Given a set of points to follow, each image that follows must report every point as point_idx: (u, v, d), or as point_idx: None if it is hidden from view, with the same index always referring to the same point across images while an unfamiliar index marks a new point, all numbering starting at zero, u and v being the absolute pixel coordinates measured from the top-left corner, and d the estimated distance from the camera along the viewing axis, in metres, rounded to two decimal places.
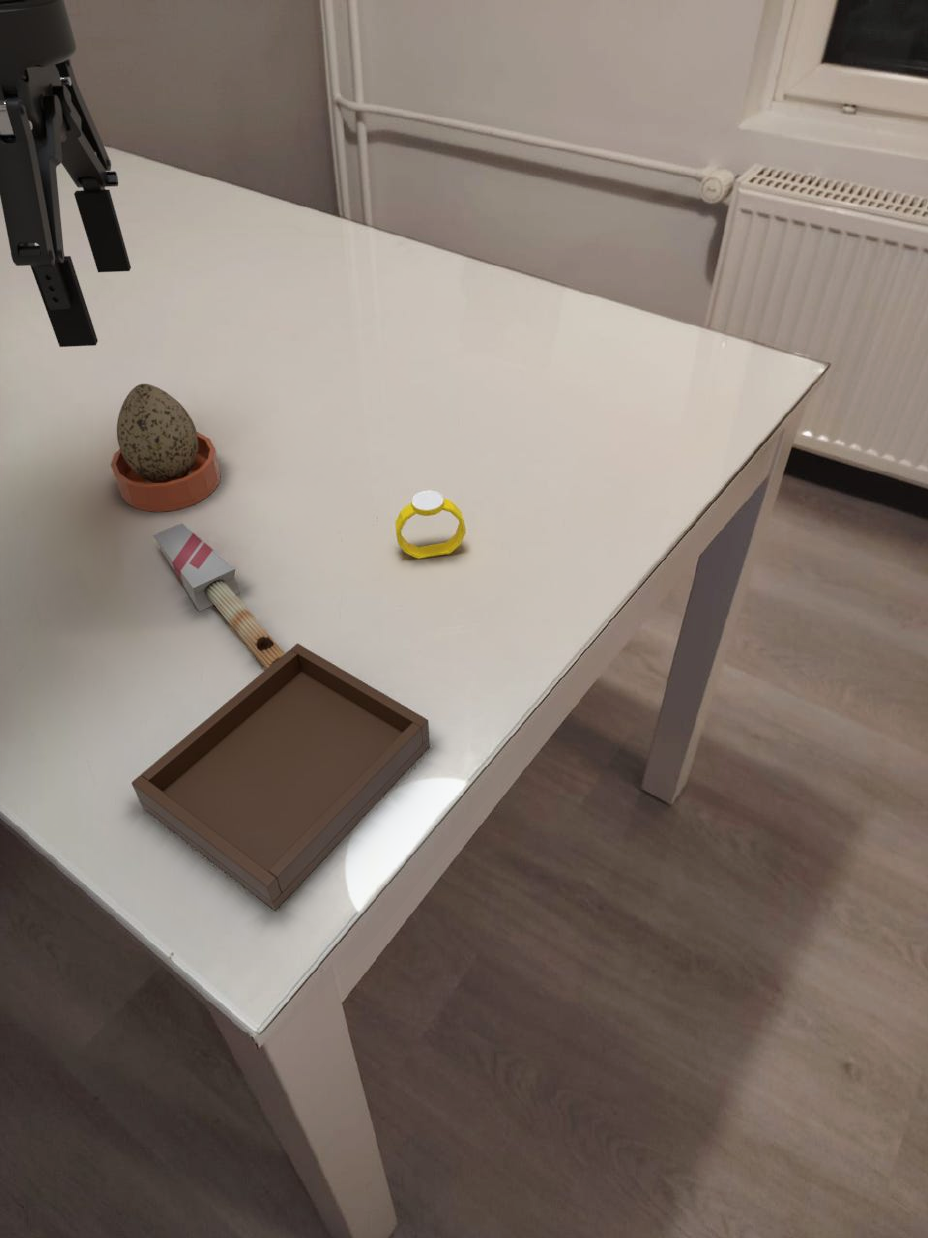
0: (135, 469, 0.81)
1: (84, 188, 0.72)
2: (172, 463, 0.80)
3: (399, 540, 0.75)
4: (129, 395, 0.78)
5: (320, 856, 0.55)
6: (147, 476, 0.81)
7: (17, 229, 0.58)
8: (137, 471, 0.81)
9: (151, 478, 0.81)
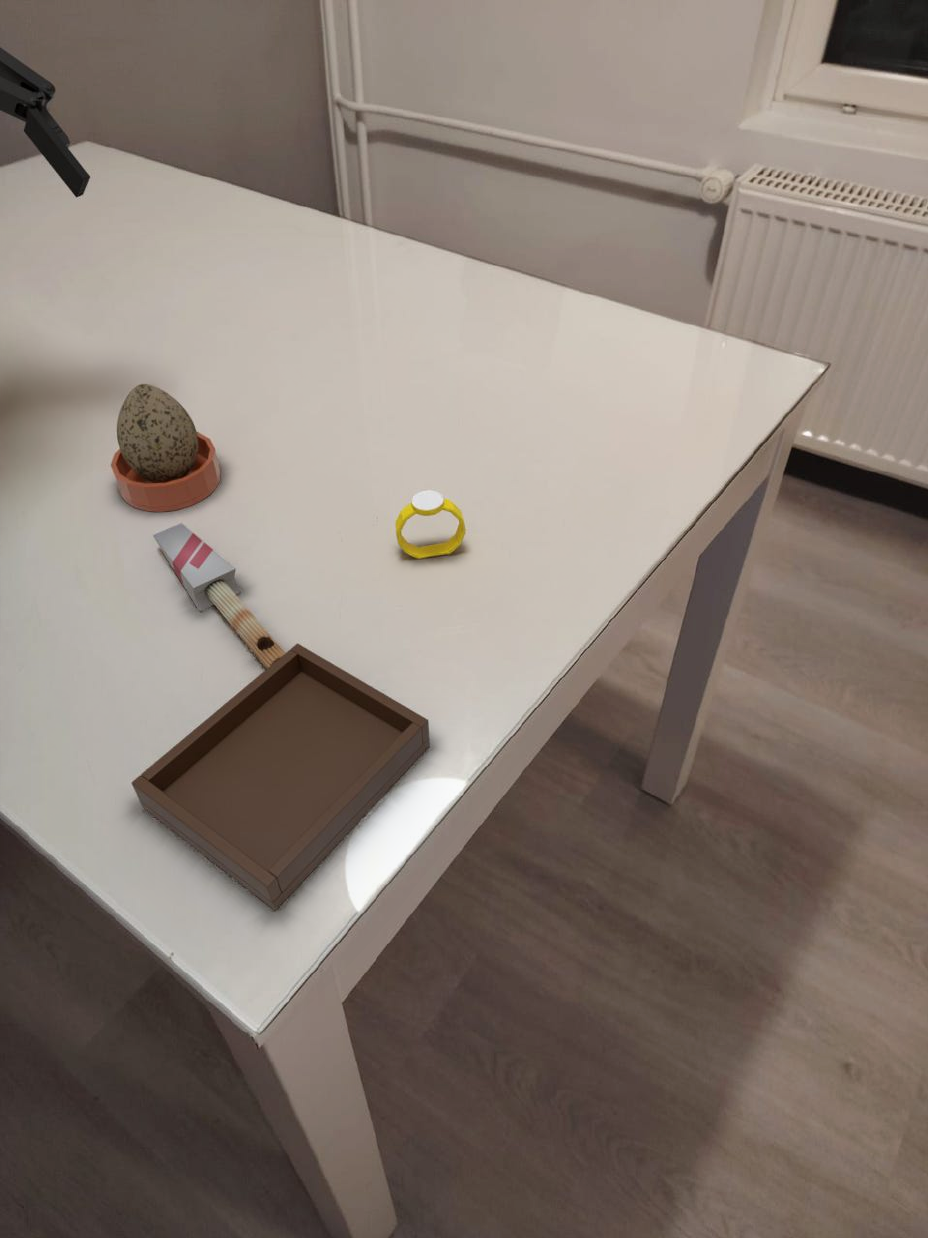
0: (135, 469, 0.81)
1: None
2: (172, 463, 0.80)
3: (399, 540, 0.75)
4: (129, 395, 0.78)
5: (320, 856, 0.55)
6: (147, 476, 0.81)
7: None
8: (137, 471, 0.81)
9: (151, 478, 0.81)
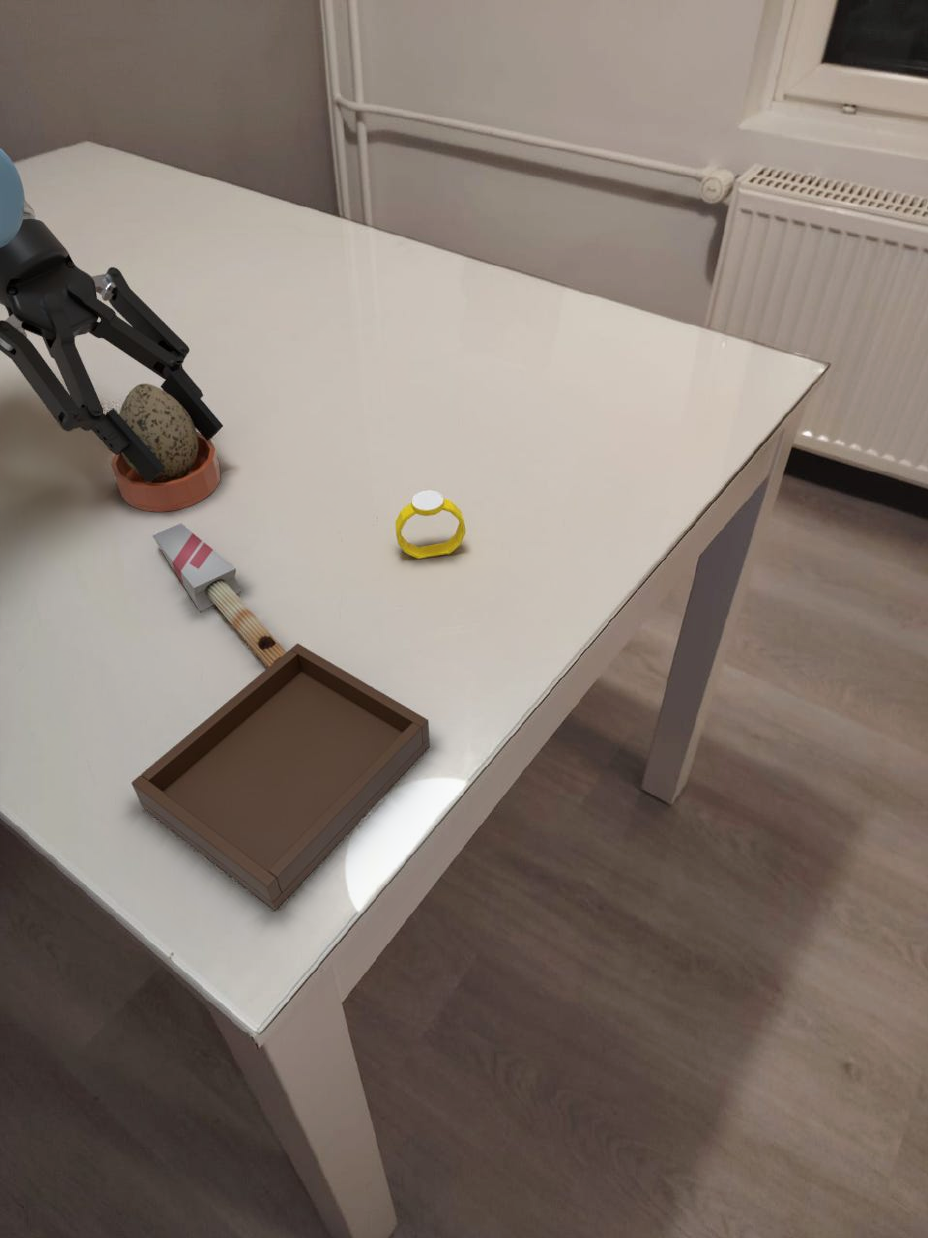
0: (135, 469, 0.81)
1: (103, 414, 0.76)
2: (172, 463, 0.80)
3: (399, 540, 0.75)
4: (129, 395, 0.78)
5: (320, 856, 0.55)
6: None
7: None
8: (137, 471, 0.81)
9: None
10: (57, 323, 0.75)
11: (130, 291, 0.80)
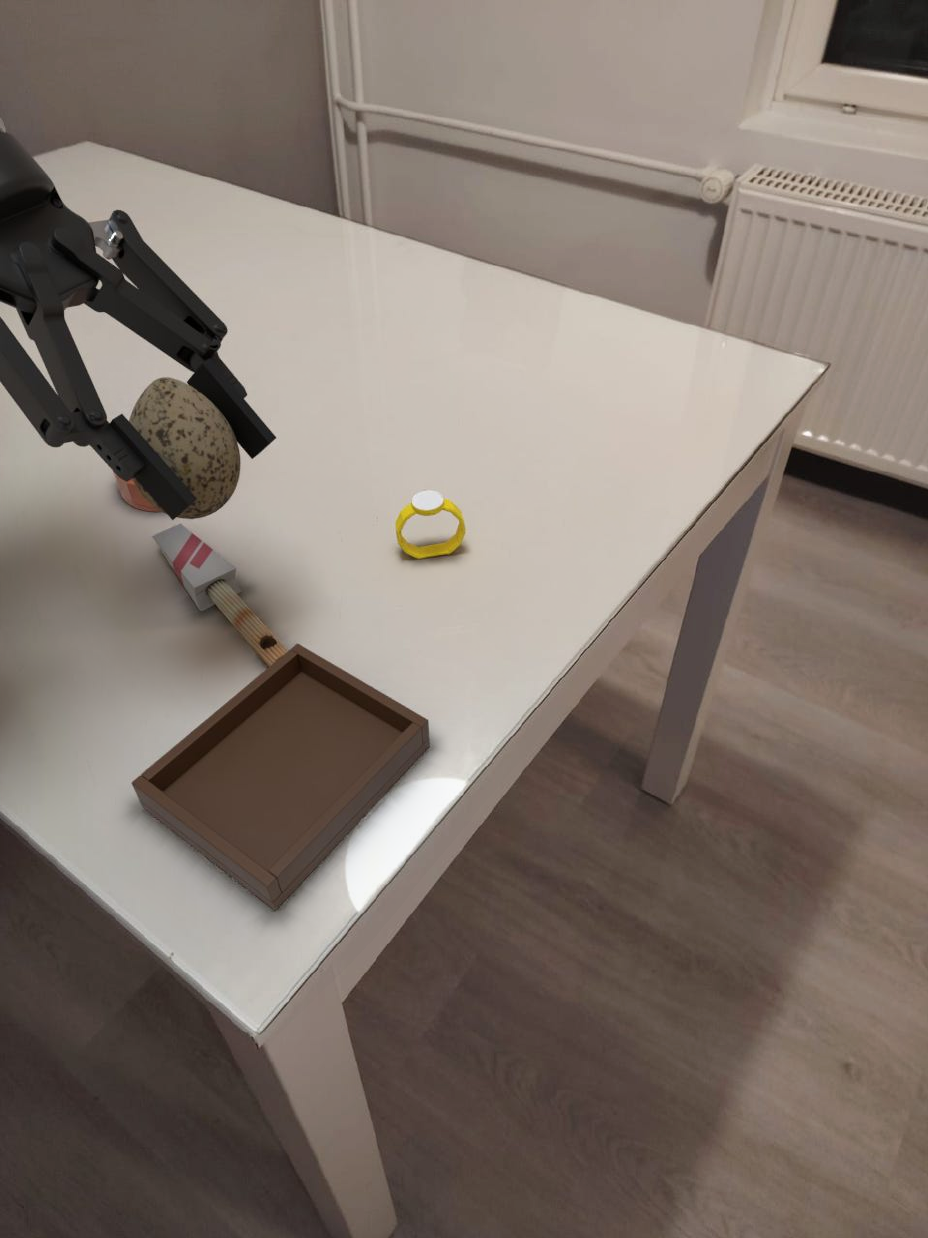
0: (152, 500, 0.56)
1: (107, 422, 0.52)
2: (205, 492, 0.56)
3: (399, 540, 0.75)
4: (144, 394, 0.54)
5: (320, 856, 0.55)
6: None
7: None
8: (154, 503, 0.57)
9: None
10: (38, 287, 0.50)
11: (144, 245, 0.56)
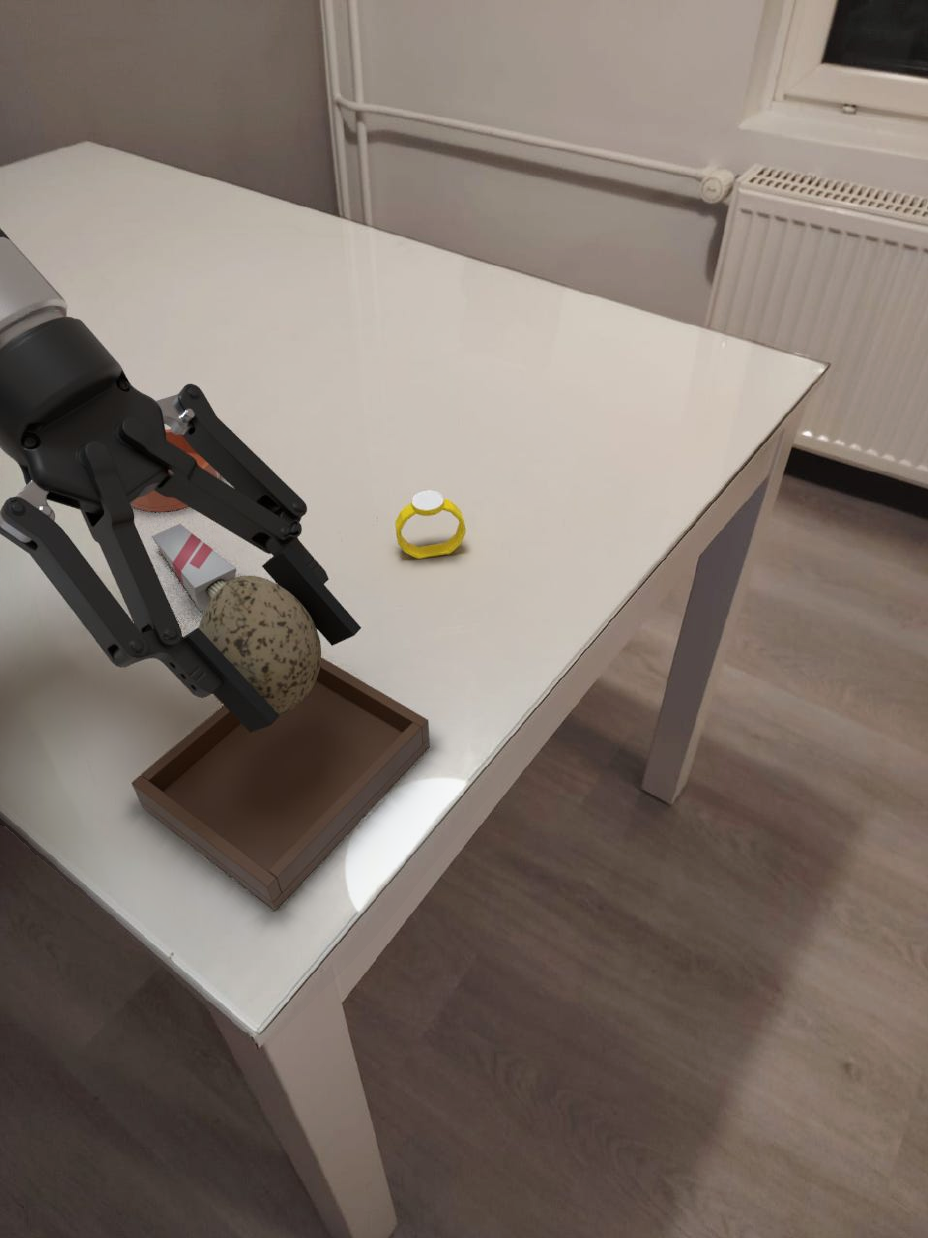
0: None
1: (181, 636, 0.46)
2: (286, 697, 0.50)
3: (399, 540, 0.75)
4: (220, 597, 0.48)
5: (320, 856, 0.55)
6: None
7: None
8: None
9: None
10: (106, 492, 0.44)
11: (217, 421, 0.50)
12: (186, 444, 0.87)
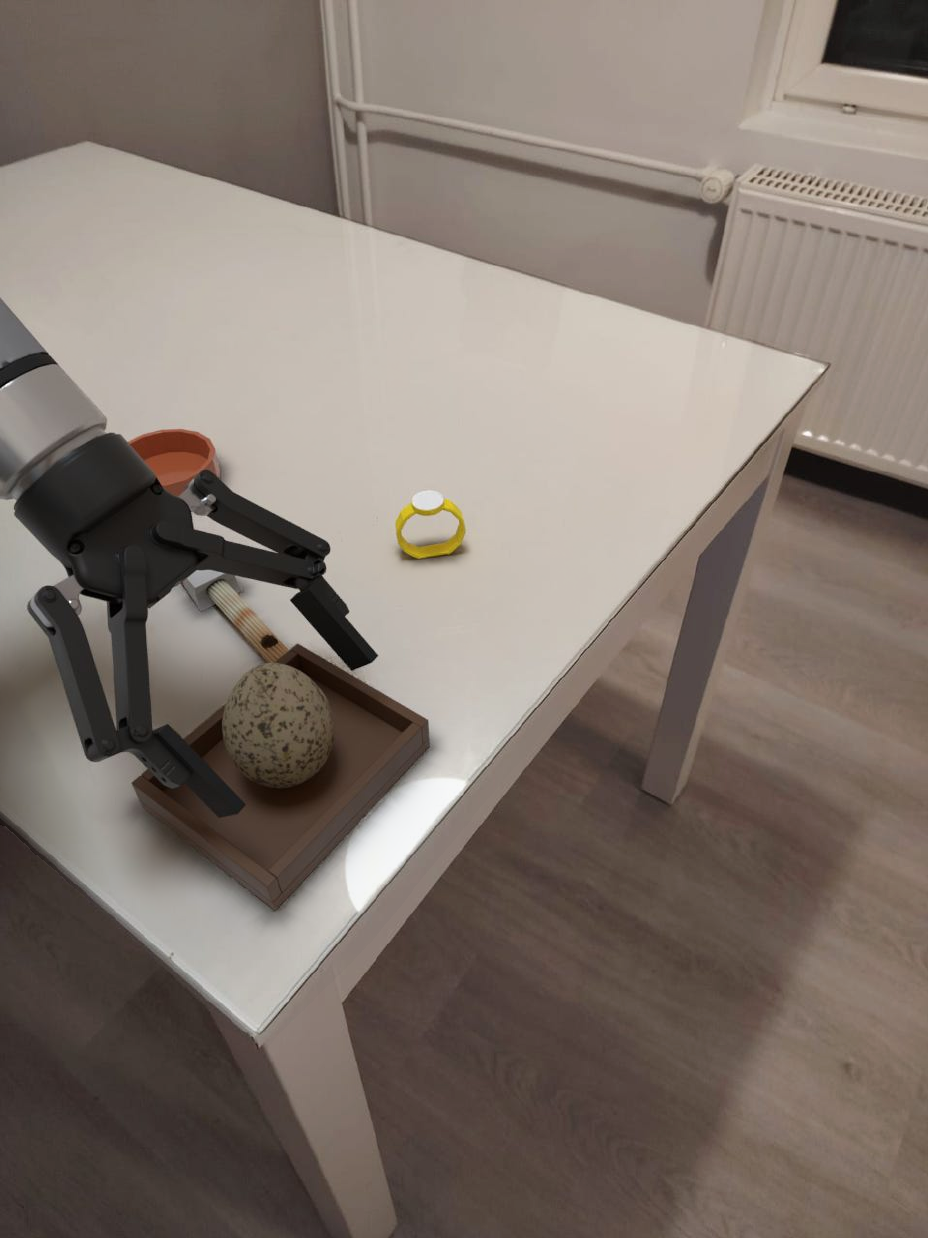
0: (248, 777, 0.56)
1: (152, 732, 0.49)
2: (303, 772, 0.55)
3: (399, 540, 0.75)
4: (245, 685, 0.53)
5: (320, 856, 0.55)
6: (265, 785, 0.56)
7: None
8: (251, 779, 0.56)
9: (270, 787, 0.56)
10: (129, 591, 0.49)
11: (235, 496, 0.55)
12: (186, 444, 0.87)
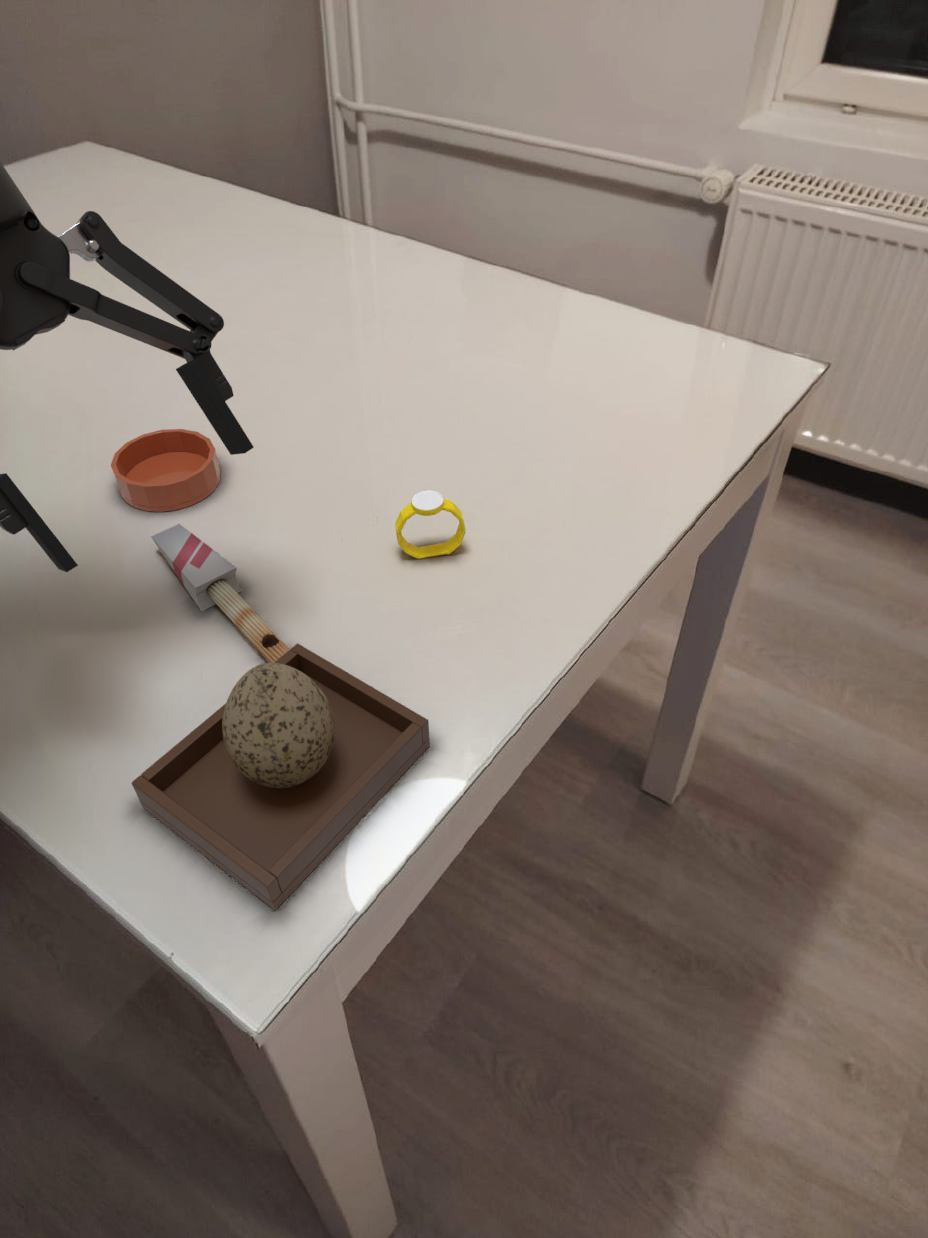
0: (248, 777, 0.56)
1: None
2: (303, 772, 0.55)
3: (399, 540, 0.75)
4: (245, 685, 0.53)
5: (320, 856, 0.55)
6: (265, 786, 0.56)
7: None
8: (251, 779, 0.56)
9: (270, 787, 0.56)
10: None
11: (122, 248, 0.52)
12: (186, 444, 0.87)
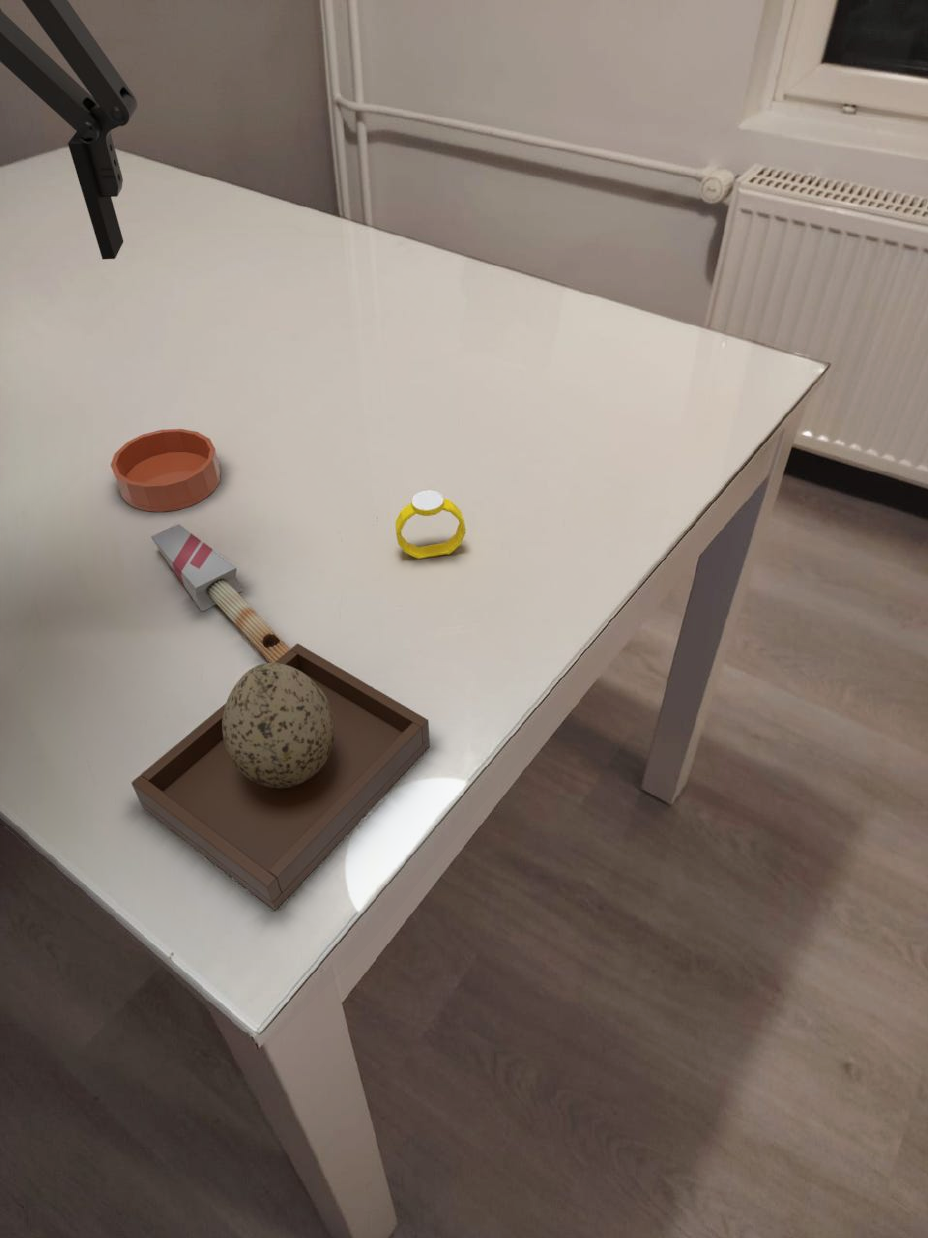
0: (248, 777, 0.56)
1: None
2: (303, 772, 0.55)
3: (399, 540, 0.75)
4: (245, 685, 0.53)
5: (320, 856, 0.55)
6: (265, 785, 0.56)
7: (108, 75, 0.47)
8: (251, 779, 0.56)
9: (270, 787, 0.56)
10: None
11: None
12: (186, 444, 0.87)
